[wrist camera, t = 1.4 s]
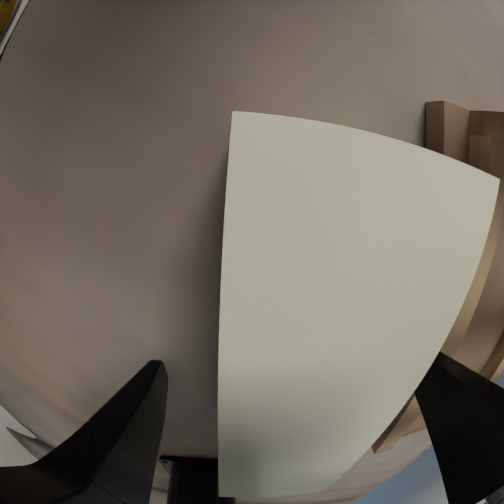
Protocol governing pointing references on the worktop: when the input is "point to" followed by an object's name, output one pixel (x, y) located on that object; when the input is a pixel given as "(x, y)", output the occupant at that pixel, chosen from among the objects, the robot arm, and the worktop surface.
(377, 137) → the white rectangular block
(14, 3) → the condiment
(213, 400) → the worktop surface
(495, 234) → the rack
